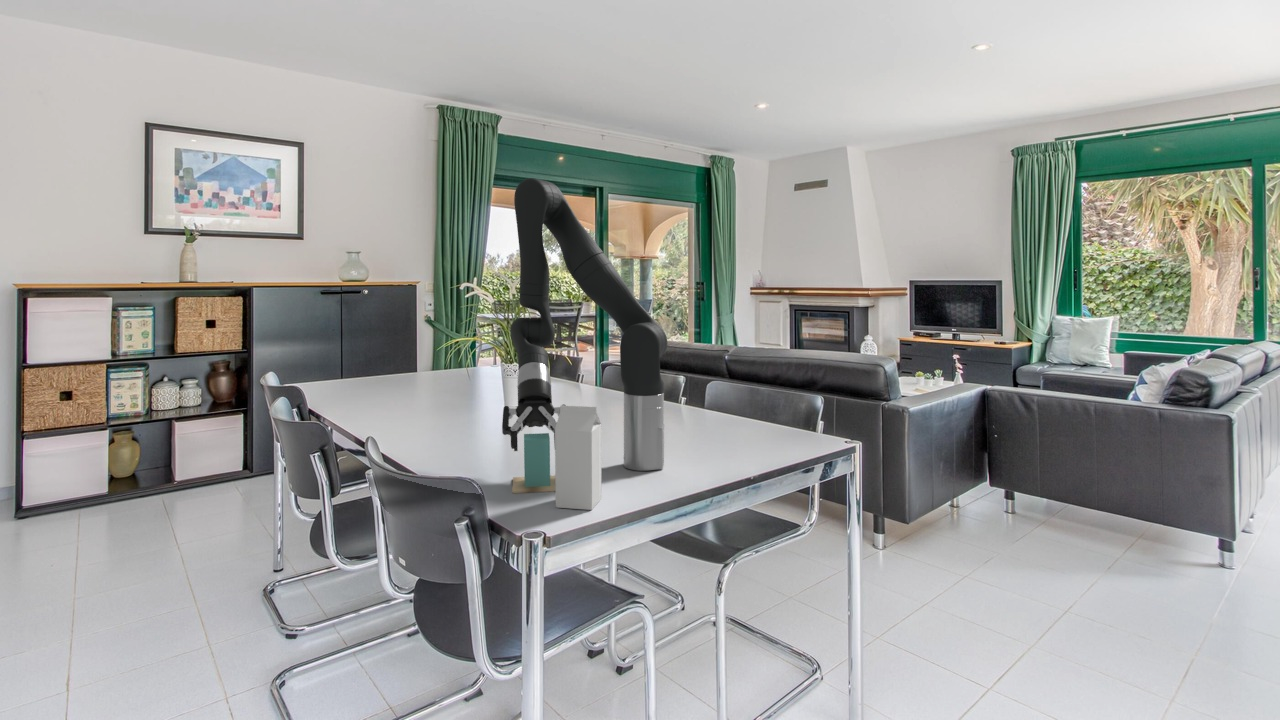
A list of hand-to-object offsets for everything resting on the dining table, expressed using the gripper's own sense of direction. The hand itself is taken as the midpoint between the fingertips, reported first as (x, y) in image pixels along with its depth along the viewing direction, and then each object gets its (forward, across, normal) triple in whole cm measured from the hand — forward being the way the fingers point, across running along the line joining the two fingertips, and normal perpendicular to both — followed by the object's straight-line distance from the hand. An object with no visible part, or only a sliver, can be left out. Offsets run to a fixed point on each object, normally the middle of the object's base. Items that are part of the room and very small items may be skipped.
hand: (536, 448), depth 142 cm
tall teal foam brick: (+6, 0, +3) cm, 7 cm away
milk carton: (+16, +8, -6) cm, 19 cm away
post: (+7, 0, +4) cm, 8 cm away
